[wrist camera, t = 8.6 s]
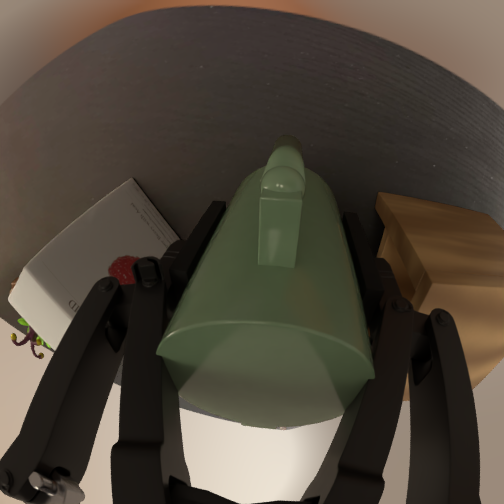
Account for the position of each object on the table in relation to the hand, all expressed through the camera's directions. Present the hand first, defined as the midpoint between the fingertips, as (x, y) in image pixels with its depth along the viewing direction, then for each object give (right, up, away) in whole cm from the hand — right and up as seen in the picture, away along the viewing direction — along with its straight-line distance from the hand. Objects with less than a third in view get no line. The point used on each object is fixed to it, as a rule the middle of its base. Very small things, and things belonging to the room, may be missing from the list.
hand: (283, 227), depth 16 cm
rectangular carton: (-15, +1, +12) cm, 19 cm away
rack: (+16, -3, +9) cm, 18 cm away
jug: (0, +1, +2) cm, 2 cm away
